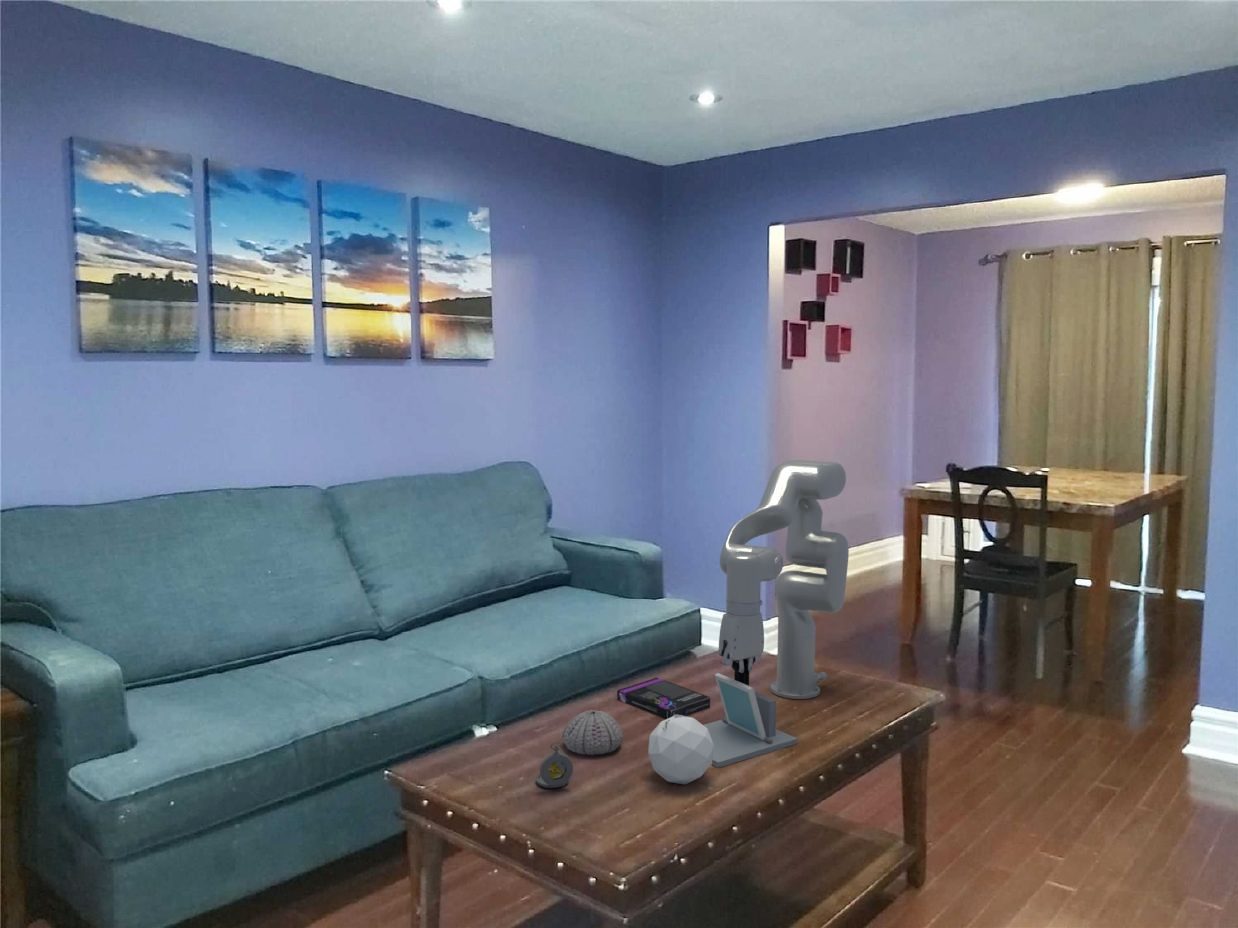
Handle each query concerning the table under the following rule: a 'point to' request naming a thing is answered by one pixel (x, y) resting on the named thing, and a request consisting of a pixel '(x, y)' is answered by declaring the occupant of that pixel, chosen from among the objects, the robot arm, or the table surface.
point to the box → (663, 698)
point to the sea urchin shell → (592, 733)
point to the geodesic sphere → (680, 749)
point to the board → (747, 736)
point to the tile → (740, 705)
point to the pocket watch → (555, 769)
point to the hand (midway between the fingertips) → (741, 687)
